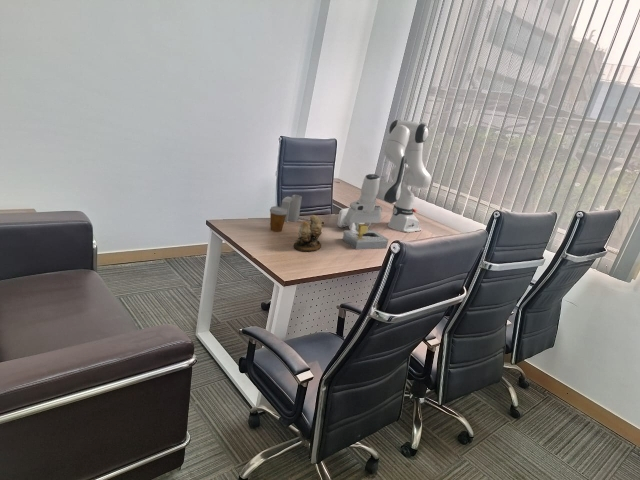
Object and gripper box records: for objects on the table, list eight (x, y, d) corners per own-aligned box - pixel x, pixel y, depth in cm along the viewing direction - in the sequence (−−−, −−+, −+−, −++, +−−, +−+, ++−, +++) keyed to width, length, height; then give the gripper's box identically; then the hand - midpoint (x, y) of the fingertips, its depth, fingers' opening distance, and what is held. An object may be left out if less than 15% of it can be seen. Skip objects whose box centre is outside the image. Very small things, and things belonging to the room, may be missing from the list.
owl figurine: (308, 239, 214) (313, 208, 208) (326, 246, 209) (332, 215, 203) (287, 246, 199) (293, 214, 194) (307, 254, 194) (313, 221, 188)
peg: (359, 241, 222) (363, 223, 218) (364, 244, 218) (368, 226, 215) (353, 241, 220) (356, 223, 216) (357, 244, 216) (361, 226, 213)
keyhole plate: (372, 238, 232) (374, 230, 230) (386, 248, 220) (388, 239, 219) (342, 239, 222) (344, 230, 221) (355, 249, 211) (357, 240, 209)
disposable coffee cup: (288, 230, 222) (291, 209, 218) (279, 234, 214) (282, 212, 210) (273, 225, 226) (275, 205, 221) (264, 229, 217) (266, 208, 213)
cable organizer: (350, 233, 235) (354, 214, 231) (335, 227, 240) (339, 209, 236) (363, 229, 246) (367, 211, 242) (349, 223, 252) (353, 206, 248)
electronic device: (283, 215, 246) (286, 191, 241) (324, 223, 244) (328, 199, 239) (278, 220, 235) (281, 195, 230) (321, 229, 232) (325, 204, 227)
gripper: (379, 204, 220) (373, 227, 224) (347, 203, 210) (342, 228, 214) (385, 207, 214) (380, 232, 219) (353, 207, 205) (348, 232, 209)
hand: (361, 230), depth 217 cm, fingers closed on peg, 4 cm apart
